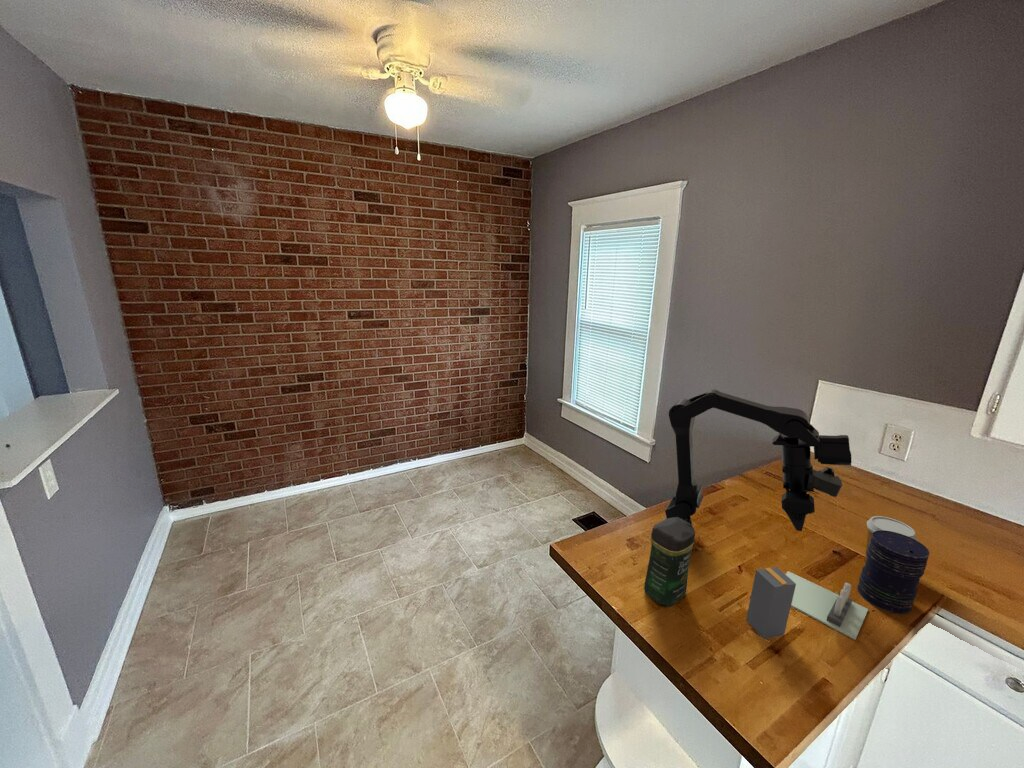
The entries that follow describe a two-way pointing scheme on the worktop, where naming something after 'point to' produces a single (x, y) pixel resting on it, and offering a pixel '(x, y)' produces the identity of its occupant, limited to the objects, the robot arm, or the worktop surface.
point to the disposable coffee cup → (887, 528)
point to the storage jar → (892, 571)
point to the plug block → (770, 602)
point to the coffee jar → (669, 560)
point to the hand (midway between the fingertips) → (799, 521)
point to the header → (828, 606)
